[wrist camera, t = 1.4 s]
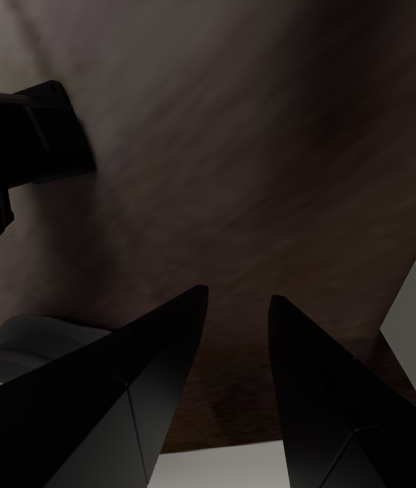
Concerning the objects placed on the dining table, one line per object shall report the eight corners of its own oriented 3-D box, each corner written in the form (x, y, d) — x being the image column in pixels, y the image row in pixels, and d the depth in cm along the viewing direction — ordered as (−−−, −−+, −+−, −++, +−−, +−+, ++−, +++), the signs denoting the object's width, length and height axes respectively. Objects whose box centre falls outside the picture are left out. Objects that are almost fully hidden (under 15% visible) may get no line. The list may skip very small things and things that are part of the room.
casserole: (120, 291, 27) (69, 357, 19) (176, 395, 34) (155, 471, 27) (-33, 313, 34) (-113, 368, 26) (42, 395, 41) (-4, 456, 34)
